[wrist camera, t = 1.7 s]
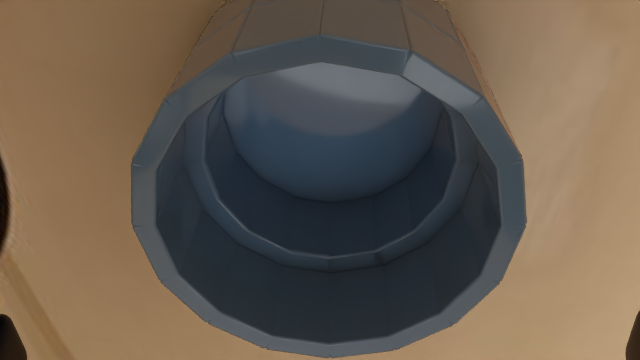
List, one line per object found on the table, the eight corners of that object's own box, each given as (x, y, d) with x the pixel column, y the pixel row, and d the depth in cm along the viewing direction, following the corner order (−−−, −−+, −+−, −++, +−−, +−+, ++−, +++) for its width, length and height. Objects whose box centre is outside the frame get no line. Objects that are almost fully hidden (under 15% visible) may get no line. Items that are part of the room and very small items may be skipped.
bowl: (148, 137, 16) (74, 265, 11) (280, -111, 12) (245, -58, 8) (368, 251, 17) (374, 399, 13) (535, 62, 14) (615, 180, 10)
